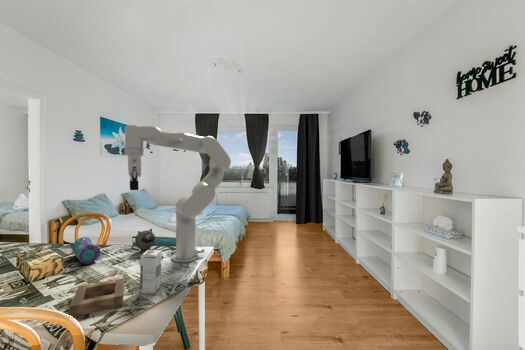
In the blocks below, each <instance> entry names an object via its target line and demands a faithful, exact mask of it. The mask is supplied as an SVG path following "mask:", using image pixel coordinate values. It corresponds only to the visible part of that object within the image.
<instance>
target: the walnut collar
mask: <svg viewBox="0 0 525 350" xmlns="http://www.w3.org/2000/svg"><path fill="white" fill-rule="evenodd" d="M124 292H125V278H123V277H122V278H117V279H113V280H112V279H111V280H107V281H102V282H97V283H90V284H89V283H88V284H85V285H79V286H78V287H77V290H76V291H75V293H74V296H73V298H72V301H71V303H70V305H69V316H70V315H71V316H73V317H72V318H75V317H80V316H85V315H88V314H89V315H90V314H94V313H98V312H102V311H106V310H110V309H114V308H119V307H122V306H124V294H125V293H124ZM106 294H108V295H106ZM92 297H93V298H92Z"/></svg>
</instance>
